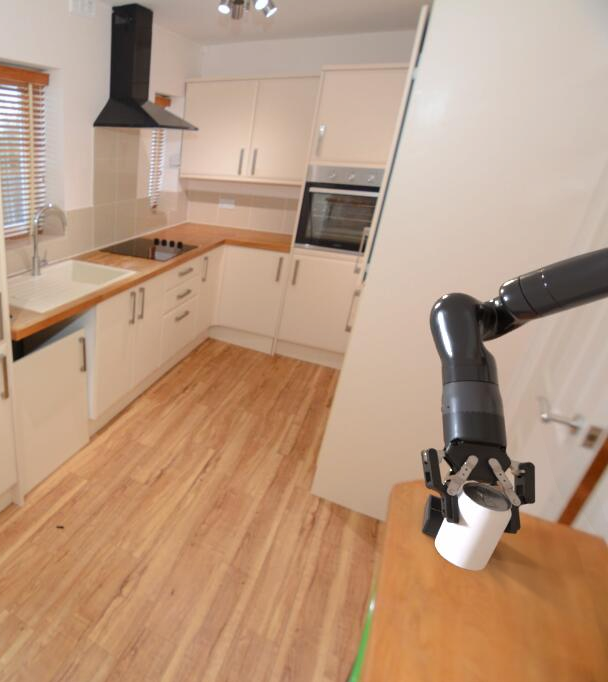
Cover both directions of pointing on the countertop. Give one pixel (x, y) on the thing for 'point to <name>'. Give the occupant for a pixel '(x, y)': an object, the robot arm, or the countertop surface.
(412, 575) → the countertop surface
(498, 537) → the can
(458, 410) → the robot arm
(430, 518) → the tray
